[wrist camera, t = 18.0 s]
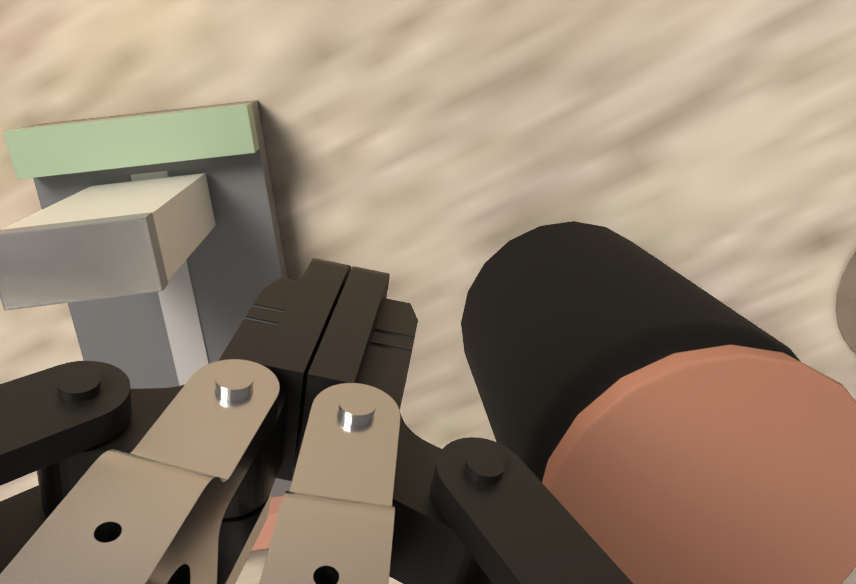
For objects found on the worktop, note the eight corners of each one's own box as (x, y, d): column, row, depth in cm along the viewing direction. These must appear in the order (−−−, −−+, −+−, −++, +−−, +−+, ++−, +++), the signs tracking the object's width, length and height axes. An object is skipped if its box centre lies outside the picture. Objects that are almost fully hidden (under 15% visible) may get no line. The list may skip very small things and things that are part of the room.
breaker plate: (39, 124, 33) (3, 131, 30) (257, 100, 34) (246, 105, 30) (146, 526, 40) (127, 568, 37) (325, 500, 41) (323, 540, 37)
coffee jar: (486, 427, 40) (581, 702, 23) (434, 251, 37) (499, 420, 20) (669, 372, 40) (900, 605, 23) (634, 189, 37) (874, 305, 20)
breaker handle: (90, 184, 32) (-19, 236, 23) (206, 171, 32) (145, 217, 23) (103, 239, 33) (4, 310, 23) (217, 226, 33) (162, 291, 24)
